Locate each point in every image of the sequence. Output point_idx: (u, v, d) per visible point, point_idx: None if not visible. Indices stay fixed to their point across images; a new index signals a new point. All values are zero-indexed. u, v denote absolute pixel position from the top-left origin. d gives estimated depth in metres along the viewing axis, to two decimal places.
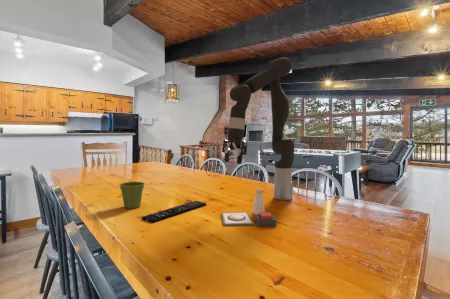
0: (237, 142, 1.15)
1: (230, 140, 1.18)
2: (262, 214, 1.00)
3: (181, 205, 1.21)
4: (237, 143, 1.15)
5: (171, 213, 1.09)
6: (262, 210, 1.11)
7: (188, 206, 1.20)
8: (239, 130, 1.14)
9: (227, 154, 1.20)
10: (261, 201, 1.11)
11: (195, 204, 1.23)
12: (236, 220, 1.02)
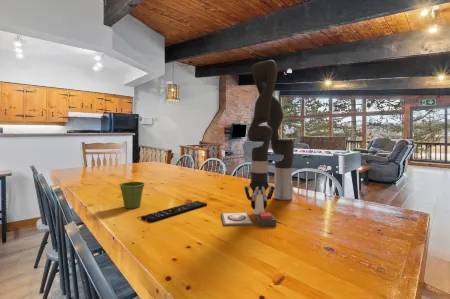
0: (266, 185, 1.12)
1: (255, 184, 1.11)
2: (262, 214, 1.00)
3: (181, 205, 1.21)
4: (266, 186, 1.12)
5: (170, 213, 1.10)
6: (262, 210, 1.11)
7: (188, 206, 1.20)
8: (267, 173, 1.12)
9: None
10: (261, 201, 1.11)
11: (196, 204, 1.23)
12: (236, 220, 1.02)
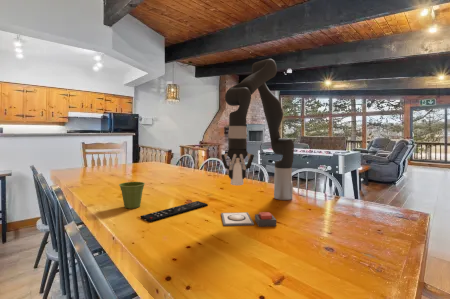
0: (244, 153, 1.03)
1: (233, 151, 1.02)
2: (262, 214, 1.00)
3: (182, 205, 1.21)
4: (245, 154, 1.03)
5: (170, 213, 1.10)
6: (240, 180, 1.03)
7: (189, 206, 1.20)
8: (246, 140, 1.03)
9: (232, 170, 1.04)
10: (239, 170, 1.02)
11: (196, 204, 1.23)
12: (236, 220, 1.02)
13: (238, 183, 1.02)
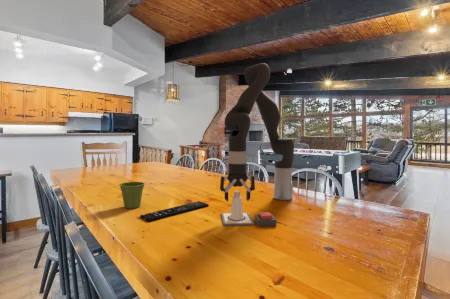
0: (245, 178, 1.04)
1: (233, 176, 1.03)
2: (262, 214, 1.00)
3: (182, 205, 1.21)
4: (245, 179, 1.04)
5: (169, 213, 1.10)
6: (240, 214, 1.04)
7: (189, 206, 1.19)
8: (246, 164, 1.03)
9: (227, 192, 1.04)
10: (239, 204, 1.03)
11: (197, 205, 1.22)
12: (236, 220, 1.02)
13: (238, 217, 1.03)
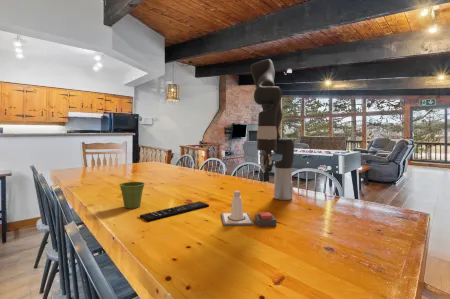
0: None
1: None
2: (262, 214, 1.00)
3: (183, 205, 1.21)
4: None
5: (169, 213, 1.10)
6: (240, 214, 1.04)
7: (189, 206, 1.19)
8: None
9: None
10: (239, 204, 1.03)
11: (197, 205, 1.22)
12: (236, 220, 1.02)
13: (238, 217, 1.03)
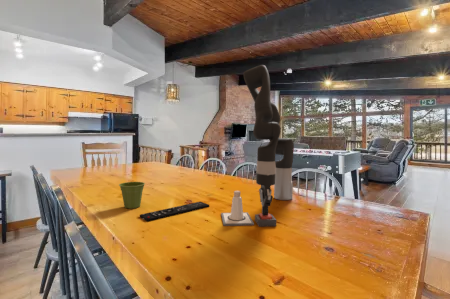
0: None
1: None
2: (262, 215, 1.01)
3: (183, 205, 1.21)
4: None
5: (169, 213, 1.10)
6: (240, 214, 1.04)
7: (189, 207, 1.19)
8: None
9: None
10: (239, 204, 1.03)
11: (197, 205, 1.22)
12: (236, 220, 1.02)
13: (238, 217, 1.03)
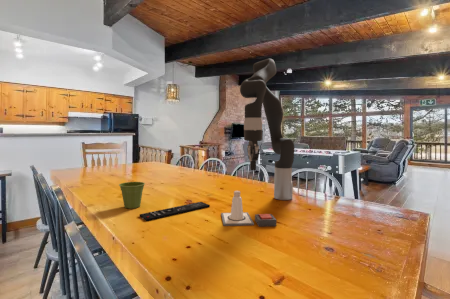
0: None
1: None
2: (262, 216, 1.01)
3: (183, 205, 1.21)
4: None
5: (168, 213, 1.10)
6: (240, 214, 1.04)
7: (189, 207, 1.19)
8: None
9: None
10: (239, 204, 1.03)
11: (198, 205, 1.21)
12: (236, 220, 1.02)
13: (238, 217, 1.03)
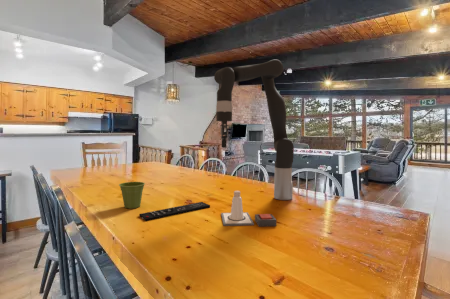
0: None
1: None
2: (262, 216, 1.01)
3: (184, 205, 1.21)
4: None
5: (168, 213, 1.10)
6: (240, 214, 1.04)
7: (190, 207, 1.19)
8: None
9: None
10: (239, 204, 1.03)
11: (198, 205, 1.21)
12: (236, 220, 1.02)
13: (238, 217, 1.03)
